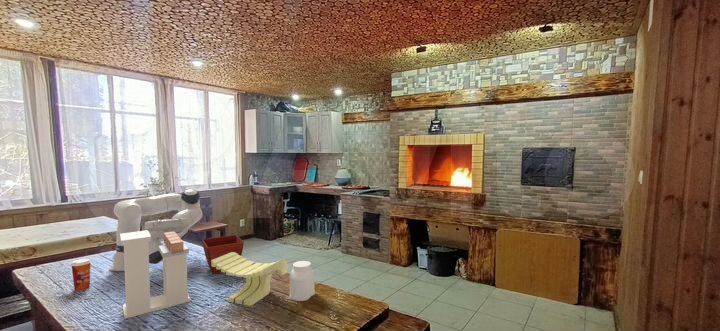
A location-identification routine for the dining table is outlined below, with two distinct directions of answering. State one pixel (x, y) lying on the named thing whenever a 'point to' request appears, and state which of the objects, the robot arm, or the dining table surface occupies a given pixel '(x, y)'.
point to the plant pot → (221, 248)
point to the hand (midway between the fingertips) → (170, 220)
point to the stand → (140, 278)
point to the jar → (301, 281)
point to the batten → (173, 242)
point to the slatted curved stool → (249, 276)
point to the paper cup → (81, 274)
